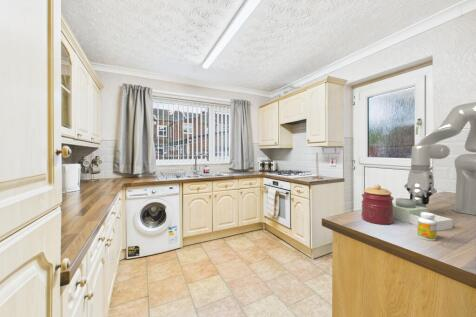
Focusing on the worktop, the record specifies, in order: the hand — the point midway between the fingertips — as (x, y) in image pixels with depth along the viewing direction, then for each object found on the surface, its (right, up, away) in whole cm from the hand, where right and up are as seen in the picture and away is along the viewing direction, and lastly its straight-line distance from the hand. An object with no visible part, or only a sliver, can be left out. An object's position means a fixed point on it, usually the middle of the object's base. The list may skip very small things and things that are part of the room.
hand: (418, 202), depth 110 cm
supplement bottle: (-21, -8, -28) cm, 36 cm away
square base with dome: (-10, -7, -9) cm, 15 cm away
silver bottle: (0, -7, 0) cm, 7 cm away
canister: (-28, -7, -8) cm, 30 cm away
